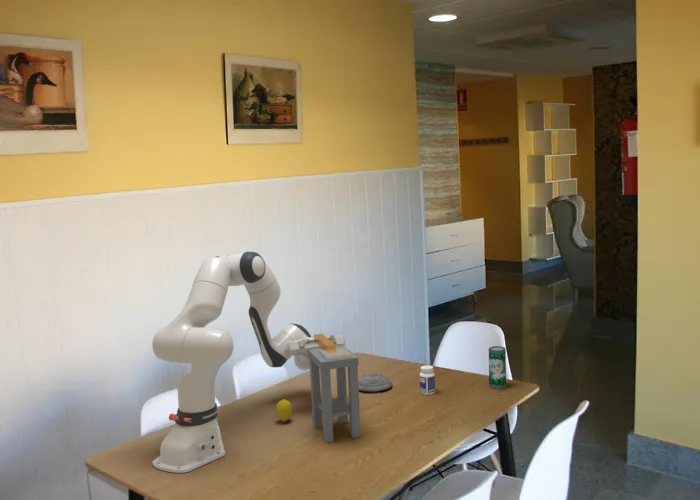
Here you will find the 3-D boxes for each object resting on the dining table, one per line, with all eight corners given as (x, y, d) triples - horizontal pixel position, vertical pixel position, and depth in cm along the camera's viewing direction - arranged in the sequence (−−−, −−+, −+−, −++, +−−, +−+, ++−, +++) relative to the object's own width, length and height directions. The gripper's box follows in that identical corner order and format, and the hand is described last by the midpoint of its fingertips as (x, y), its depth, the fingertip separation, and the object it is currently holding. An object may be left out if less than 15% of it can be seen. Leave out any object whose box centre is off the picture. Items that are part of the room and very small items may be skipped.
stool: (361, 437, 211) (358, 357, 208) (325, 443, 208) (321, 362, 204) (346, 419, 226) (342, 345, 223) (311, 425, 223) (308, 349, 220)
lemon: (290, 425, 224) (288, 402, 223) (274, 424, 225) (273, 401, 224) (294, 418, 229) (293, 396, 228) (279, 418, 230) (278, 396, 229)
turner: (351, 357, 208) (351, 350, 208) (326, 360, 206) (326, 353, 206) (329, 339, 231) (329, 332, 231) (307, 342, 229) (306, 335, 228)
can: (488, 389, 251) (488, 350, 249) (490, 383, 257) (489, 345, 255) (505, 389, 249) (504, 350, 247) (506, 384, 255) (505, 346, 253)
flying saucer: (347, 385, 262) (346, 372, 261) (381, 379, 268) (380, 366, 268) (364, 397, 249) (363, 382, 248) (399, 389, 255) (398, 376, 254)
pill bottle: (435, 390, 252) (434, 364, 251) (435, 395, 247) (434, 369, 245) (419, 390, 253) (419, 364, 252) (420, 395, 247) (419, 369, 246)
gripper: (282, 344, 237) (289, 333, 225) (337, 338, 244) (346, 326, 232) (285, 362, 235) (292, 351, 223) (340, 354, 241) (350, 344, 229)
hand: (320, 338), depth 227 cm, fingers open, 8 cm apart
